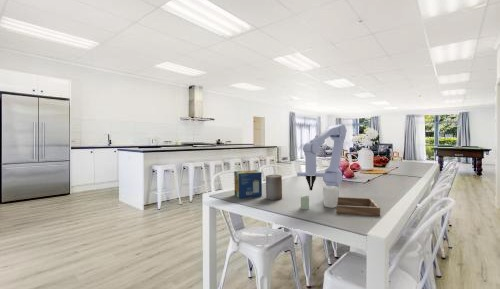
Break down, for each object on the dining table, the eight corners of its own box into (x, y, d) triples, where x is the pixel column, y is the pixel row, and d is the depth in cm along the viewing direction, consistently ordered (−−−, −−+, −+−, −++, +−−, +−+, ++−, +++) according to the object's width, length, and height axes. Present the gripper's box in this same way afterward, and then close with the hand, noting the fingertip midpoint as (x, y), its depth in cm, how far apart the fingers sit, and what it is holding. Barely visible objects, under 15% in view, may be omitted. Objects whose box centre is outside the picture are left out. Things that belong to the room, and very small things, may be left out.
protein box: (234, 195, 161) (233, 171, 160) (256, 193, 165) (256, 170, 165) (238, 198, 151) (238, 173, 150) (262, 196, 155) (262, 171, 155)
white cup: (337, 204, 135) (337, 186, 135) (338, 208, 127) (338, 189, 127) (322, 203, 137) (322, 185, 137) (322, 207, 130) (322, 188, 129)
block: (301, 206, 131) (301, 195, 131) (309, 207, 130) (308, 195, 130) (300, 209, 127) (300, 197, 127) (308, 209, 126) (308, 197, 126)
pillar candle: (281, 196, 155) (281, 172, 155) (282, 200, 146) (281, 174, 145) (266, 196, 156) (265, 172, 156) (265, 200, 146) (265, 174, 146)
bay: (333, 203, 138) (333, 196, 138) (370, 204, 133) (370, 198, 133) (336, 213, 120) (336, 205, 120) (380, 215, 115) (380, 208, 115)
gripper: (296, 165, 132) (296, 190, 132) (325, 165, 129) (325, 192, 129) (297, 164, 139) (297, 188, 139) (324, 164, 135) (324, 189, 136)
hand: (310, 190), depth 135 cm, fingers closed
